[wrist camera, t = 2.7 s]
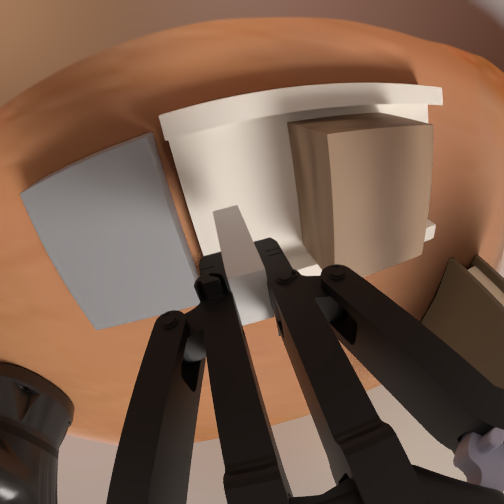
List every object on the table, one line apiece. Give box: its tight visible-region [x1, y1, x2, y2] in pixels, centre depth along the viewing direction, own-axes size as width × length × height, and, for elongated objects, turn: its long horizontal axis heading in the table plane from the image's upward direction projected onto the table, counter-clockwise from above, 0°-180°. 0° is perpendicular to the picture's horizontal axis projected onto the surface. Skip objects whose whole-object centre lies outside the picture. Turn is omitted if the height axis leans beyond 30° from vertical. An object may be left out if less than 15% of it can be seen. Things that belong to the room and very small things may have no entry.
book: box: [421, 255, 504, 474], centre depth 27 cm, size 22×9×28 cm, turn 176°
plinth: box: [20, 132, 200, 330], centre depth 19 cm, size 10×13×3 cm
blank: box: [287, 112, 433, 278], centre depth 18 cm, size 8×10×6 cm
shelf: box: [159, 82, 443, 276], centre depth 20 cm, size 22×15×3 cm
